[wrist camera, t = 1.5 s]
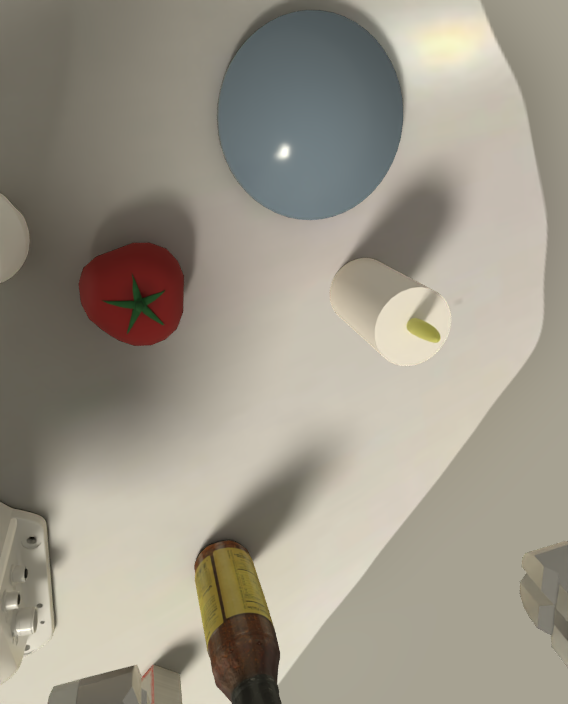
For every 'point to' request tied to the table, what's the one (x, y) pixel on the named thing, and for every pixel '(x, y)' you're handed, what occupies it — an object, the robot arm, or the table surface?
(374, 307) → the candle
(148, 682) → the small milk carton
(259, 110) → the candle dish
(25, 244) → the water bottle
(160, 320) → the tomato
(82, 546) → the table surface
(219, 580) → the sauce bottle
